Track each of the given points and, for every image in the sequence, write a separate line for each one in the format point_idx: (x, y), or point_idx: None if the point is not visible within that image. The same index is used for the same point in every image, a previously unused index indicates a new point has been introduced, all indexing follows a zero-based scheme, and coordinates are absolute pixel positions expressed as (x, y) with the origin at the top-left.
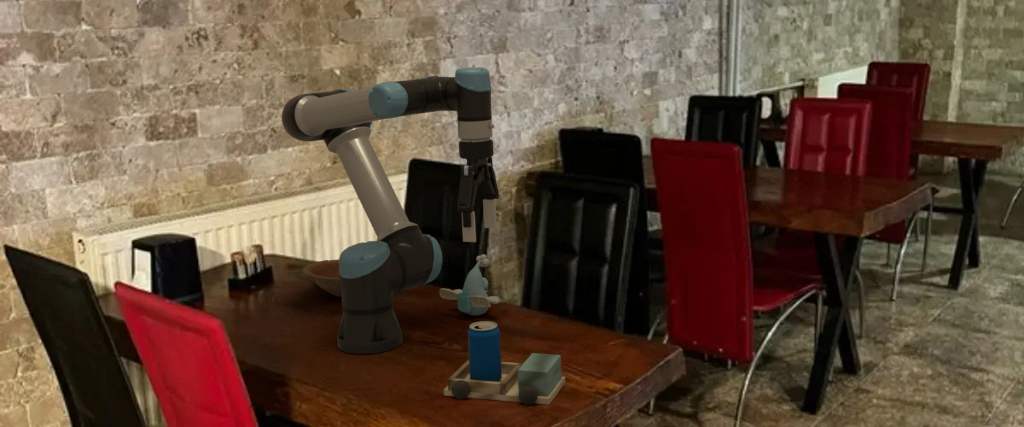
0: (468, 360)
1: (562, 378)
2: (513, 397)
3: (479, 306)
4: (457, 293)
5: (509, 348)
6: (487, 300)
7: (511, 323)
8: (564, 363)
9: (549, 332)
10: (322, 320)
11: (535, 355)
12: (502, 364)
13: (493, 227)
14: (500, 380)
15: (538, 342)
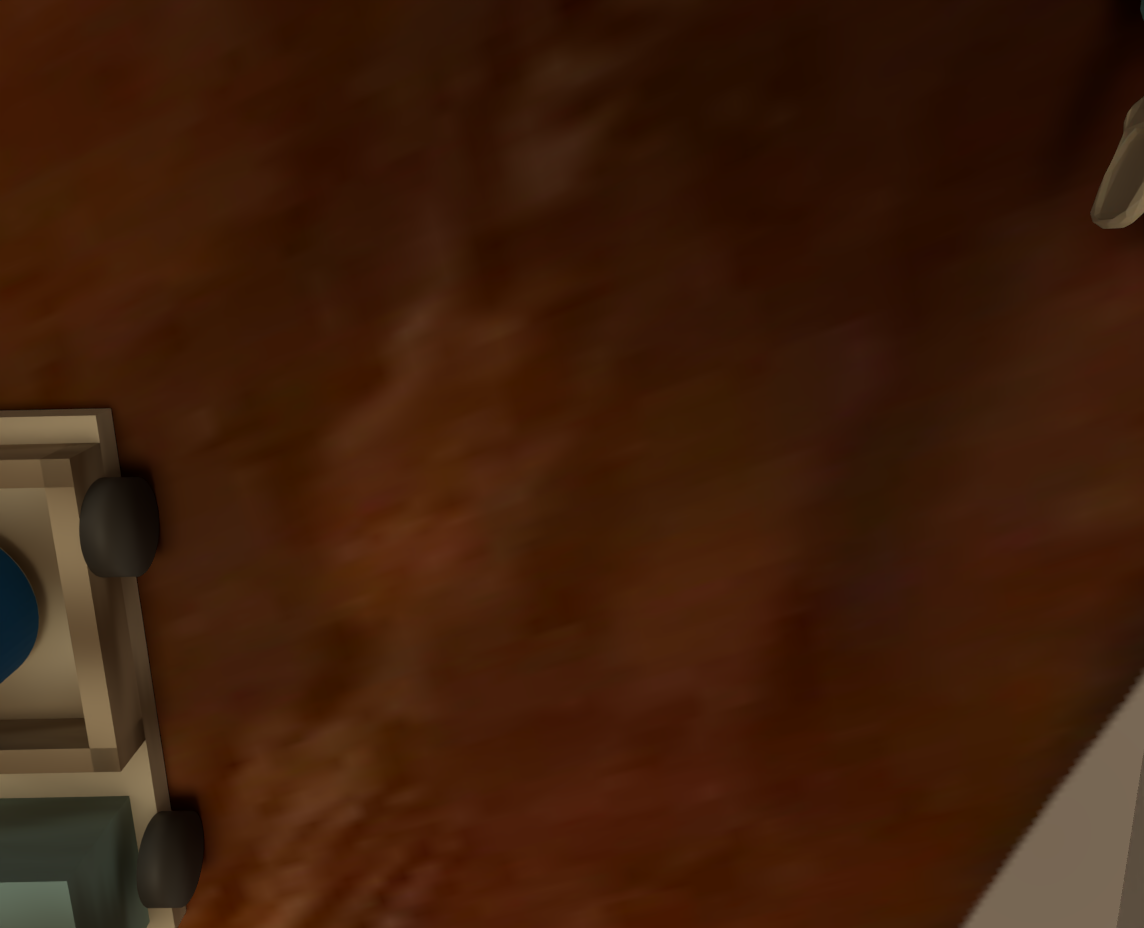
0: (52, 464)
1: (151, 925)
2: None
3: (1126, 129)
4: None
5: (589, 505)
6: (1115, 219)
7: (1066, 359)
8: (432, 843)
9: (912, 639)
10: None
11: (35, 907)
12: (79, 668)
13: (1125, 922)
14: None
15: (725, 631)
